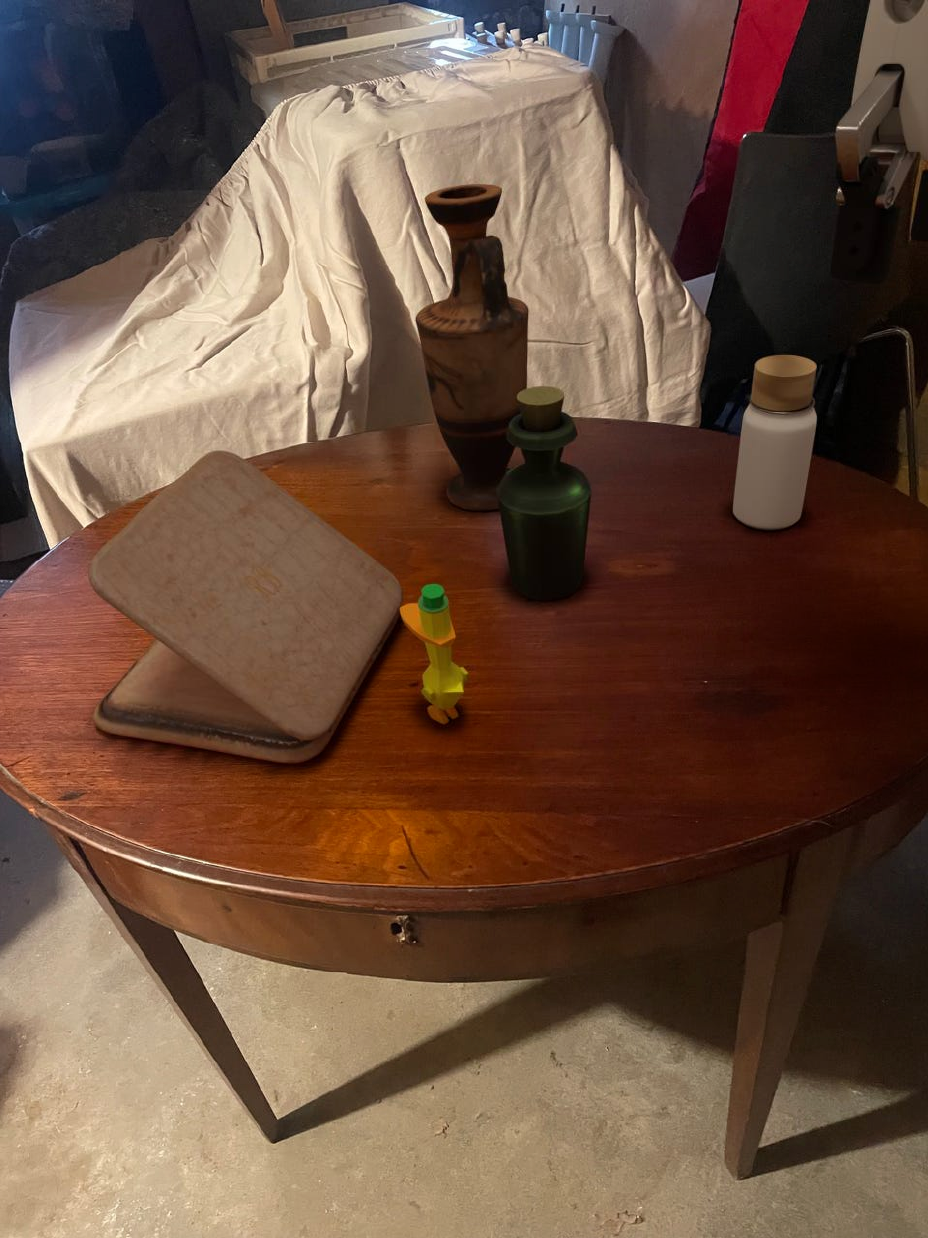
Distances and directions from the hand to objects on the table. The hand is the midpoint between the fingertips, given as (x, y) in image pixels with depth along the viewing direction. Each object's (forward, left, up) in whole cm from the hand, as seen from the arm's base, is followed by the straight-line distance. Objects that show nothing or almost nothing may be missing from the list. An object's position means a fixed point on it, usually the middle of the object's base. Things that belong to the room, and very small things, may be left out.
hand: (898, 259), depth 53 cm
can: (+6, -20, -30) cm, 36 cm away
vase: (+35, -19, -30) cm, 49 cm away
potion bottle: (+24, -4, -30) cm, 38 cm away
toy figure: (+27, +15, -30) cm, 43 cm away
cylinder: (+6, -20, -18) cm, 27 cm away
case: (+44, +14, -30) cm, 55 cm away
